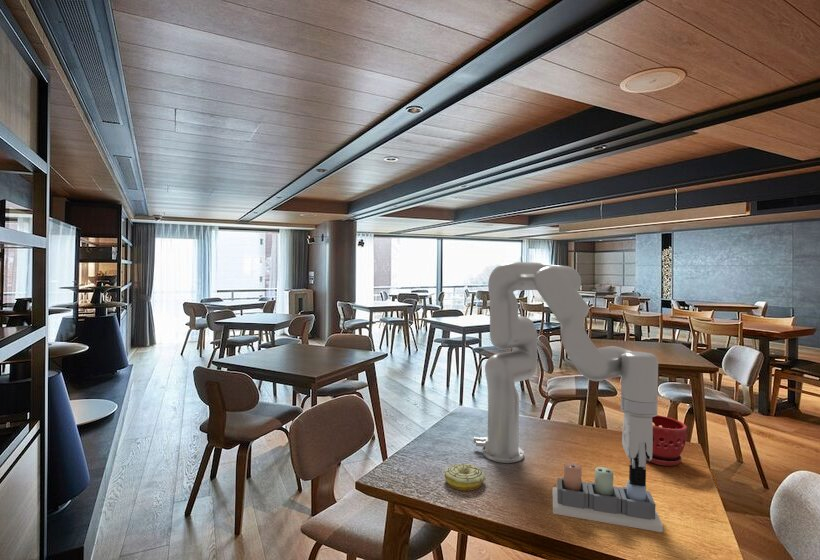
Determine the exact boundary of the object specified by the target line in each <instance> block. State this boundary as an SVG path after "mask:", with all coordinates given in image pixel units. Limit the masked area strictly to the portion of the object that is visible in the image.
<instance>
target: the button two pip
mask: <svg viewBox="0 0 820 560" xmlns="http://www.w3.org/2000/svg"><path fill="white" fill-rule="evenodd" d="M594 482H595V492H596V493H598V494H600V495H606V496H611V495H613V486H614V471H613V470H612V469H610V468H608V467H603V466H597V467H595V469H594Z"/></svg>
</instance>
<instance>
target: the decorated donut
mask: <svg viewBox="0 0 820 560" xmlns="http://www.w3.org/2000/svg"><path fill="white" fill-rule="evenodd" d="M444 478H445V482H446V483H447V484H448V486H450V487H451V488H453V489H455V490H456V491H457V490H459V491H464V492H468V491H472V490H474V491H475V490H477V489H479V488H480V487H481V486H482V484H483V483H484V481H485V480H486V474H485V473H484V471H483V470H482V469H481V468H480V467H478V466H476V465H473V464H472V463H455V464H452V465H450V466H448V467H446V469H444Z"/></svg>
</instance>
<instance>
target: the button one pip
mask: <svg viewBox="0 0 820 560" xmlns="http://www.w3.org/2000/svg"><path fill="white" fill-rule="evenodd" d="M582 472H583V471H582V466H581V465H579V464H578V463H575V462H566V463H564V464H563V478H564V487H565V488H566V489H568V490H574V491H579V490H581V481H582V474H583V473H582Z"/></svg>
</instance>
